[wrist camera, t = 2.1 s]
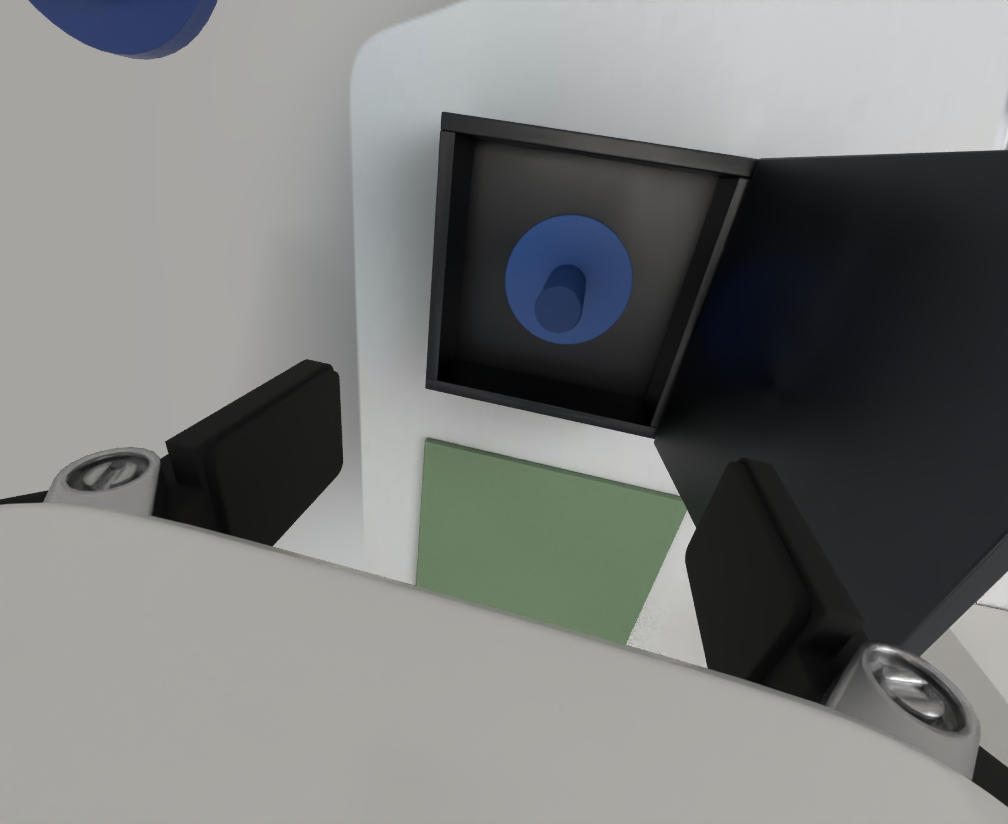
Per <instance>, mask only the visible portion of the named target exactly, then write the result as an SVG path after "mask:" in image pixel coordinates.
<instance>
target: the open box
mask: <svg viewBox="0 0 1008 824" xmlns="http://www.w3.org/2000/svg"><path fill="white" fill-rule="evenodd" d="M758 161H759V159H753V158H747V157H740V156H733V155H727V154H720V153H714V152H707V151H700V150H694V149H687V148H681V147H674V146H667V145H661V144H654V143H647V142H641V141H634V140H628V139H621V138H614V137H608V136H601V135H595V134H588V133H581V132H575V131H568V130H561V129H555V128H548V127H542V126H535V125H528V124H522V123H515V122H509V121H502V120H495V119H489V118H482V117H475V116H469V115H462V114H456V113H449V112H442V116H441V131H440V145H439V163H438V180H437V197H436V214H435V231H434V249H433V266H432V283H431V300H430V317H429V334H428V352H427V369H426V386H425V388H426V389H430V390H435V391H439V392H444V393H448V394H453V395H457V396H462V397H467V398H471V399H476V400H480V401H485V402H489V403H494V404H498V405H503V406H507V407H512V408H516V409H521V410H525V411H530V412H535V413H539V414H544V415H548V416H553V417H557V418H562V419H566V420H571V421H575V422H580V423H584V424H589V425H593V426H598V427H603V428H607V429H612V430H616V431H621V432H625V433H630V434H634V435H639V436H643V437H648V438H652V439H655V438H656V436H657V433H658V430H659V427H660V425H661V422H662V419H663V417H664V414H665V411H666V409H667V406H668V403H669V401H670V398H671V395H672V392H673V390H674V387H675V384H676V382H677V379H678V376H679V374H680V371H681V368H682V365H683V363H684V360H685V357H686V355H687V352H688V349H689V347H690V344H691V341H692V338H693V336H694V333H695V330H696V328H697V325H698V322H699V320H700V317H701V314H702V312H703V309H704V306H705V303H706V301H707V298H708V295H709V293H710V290H711V287H712V285H713V282H714V279H715V276H716V274H717V271H718V268H719V266H720V263H721V260H722V258H723V255H724V252H725V250H726V247H727V244H728V241H729V239H730V236H731V233H732V231H733V228H734V225H735V223H736V220H737V217H738V214H739V212H740V209H741V206H742V204H743V201H744V198H745V196H746V193H747V190H748V188H749V185H750V182H751V179H752V177H753V174H754V171H755V169H756V166H757V163H758ZM563 214H580V215H585V216H589V217H592V218H595V219H597V220H599V221H601V222H602V223H604V224H606V225H607V226H608V227H610V228H611V229H612V230H613V231H614V232H615V233H616V234H617V235H618V236H619V238H620V239H621V241H622V242H623V244H624V246H625V248H626V250H627V252H628V255H629V258H630V261H631V265H632V273H633V282H632V290H631V295H630V298H629V301H628V304H627V306H626V308H625V310H624V312H623V313H622V315H621V316H620V317H619V319H618V320H617V321H616V322H615V323H614V325H613V326H611V327H610V328H609V329H608V330H607V331H605V332H604V333H603V334H601V335H599V336H598V337H596V338H594V339H591V340H589V341H586V342H582V343H578V344H557V343H552V342H548V341H545V340H543V339H541V338H539V337H537V336H535V335H533V334H532V333H531V332H529V331H528V330H527V329H526V328H525V327H524V326H523V325H522V324H521V323H520V322H519V321H518V320H517V318H516V317H515V315H514V313H513V312H512V310H511V307H510V305H509V302H508V299H507V295H506V290H505V273H506V268H507V263H508V260H509V257H510V255H511V253H512V251H513V249H514V247H515V246H516V244H517V242H518V241H519V240H520V239H521V237H522V236H523V235H524V234H525V233H526V232H527V231H528V230H530V229H531V228H532V227H534V226H535V225H537V224H538V223H540V222H542V221H544V220H546V219H548V218H551V217H554V216H557V215H563Z"/></svg>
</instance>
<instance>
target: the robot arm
mask: <svg viewBox="0 0 1008 824" xmlns="http://www.w3.org/2000/svg"><path fill="white" fill-rule="evenodd" d="M340 405H341V403H340V383H339V375H338V373H337V372H335V371H334V370H333V367H332V366H331V365H330V364H326V363H322V362H317V361H313V360H308V359H306V360H304V361H302V362H300V363H298V364H297V365H295V366H293V367H291V368H290V369H288V370H286V371H285V372H283V373H281V374H280V375H278V376H276V377H274V378H273V379H271V380H269V381H268V382H266V383H264V384H263V385H261V386H259V387H257V388H256V389H254V390H252V391H251V392H249V393H247V394H246V395H244V396H242V397H241V398H239V399H237V400H235V401H234V402H232V403H230V404H228V405H227V406H225V407H223V408H222V409H220V410H218V411H217V412H215V413H213V414H211V415H210V416H208V417H206V418H205V419H203V420H201V421H200V422H198V423H196V424H194V425H193V426H191V427H189V428H188V429H186V430H184V431H183V432H181V433H179V434H177V435H176V436H174V437H172V438H171V439H169V440H167V441H165V442H166V446H167V449H168V453H169V454H168V455H166V456H164V457H163V458H161V459H160V458H159V456H158V455H157V454H156V453H155V452H153V451H150V450H147V449H144V448H135V447H127V448H115V449H110V450H105V451H100V452H97V453H94V454H90V455H87V456H85V457H82V458H80V459H78V460H76V461H74V462H72V463H70V464H69V465H68V466H66V467H65V468H63V469H62V470H61V471H60V472H59V473H58V474H57V476H56V477H55V478H54V480H53V482H52V485H51V487H50V489H49V490H48V491H43V492H38V493H32V494H27V495H21V496H16V497H11V498H6V499H0V824H1008V767H1007V766H1006V765H1004V764H1003V763H1002V762H1000V761H999V760H998V759H997V758H995V757H994V756H993V755H991V754H990V753H989V752H987V751H986V750H985V749H984V748H982V747H981V746H980V745H979V743H980V738H981V727H980V721H979V719H978V717H977V714H976V712H975V710H974V708H973V706H972V705H971V704H970V702H969V701H968V700H967V698H966V697H965V696H964V695H963V693H962V692H961V691H960V689H959V688H958V687H957V686H956V685H954V684H953V683H952V682H951V681H950V680H949V679H948V678H947V677H946V676H945V675H944V674H943V673H942V672H940V671H939V670H938V669H936V668H935V667H934V666H933V665H931V664H930V663H929V662H927V661H926V660H924V659H923V658H921V657H919V656H917V655H916V654H914V653H912V652H911V651H909V650H907V649H905V648H902V647H900V646H897V645H895V644H892V643H889V642H884V641H879V640H873V641H869V639H868V637H867V635H866V634H865V632H864V630H863V628H862V627H861V626H862V625H863V624H864V623H865V620H864V618H863V617H862V615H861V613H860V612H859V610H858V608H857V607H856V605H855V603H854V602H853V600H852V598H851V597H850V595H849V593H848V591H847V590H846V588H845V586H844V585H843V583H842V581H841V580H840V578H839V576H838V575H837V573H836V571H835V570H834V568H833V566H832V565H831V563H830V561H829V560H828V558H827V556H826V554H825V553H824V551H823V549H822V548H821V546H820V544H819V543H818V541H817V539H816V538H815V536H814V534H813V533H812V531H811V529H810V528H809V526H808V524H807V522H806V521H805V519H804V517H803V516H802V514H801V512H800V511H799V509H798V507H797V506H796V504H795V502H794V501H793V499H792V497H791V496H790V494H789V492H788V491H787V489H786V487H785V485H784V484H783V482H782V480H781V479H780V477H779V475H778V474H777V472H776V470H775V469H774V467H773V466H772V464H771V463H767V462H762V461H758V460H753V459H749V458H745V457H742V458H740V459H739V460H738V461H737V462H733V461H731V462H729V463H728V465H727V466H726V468H725V470H724V472H723V474H722V476H721V478H720V481H719V483H718V485H717V487H716V489H715V491H714V493H713V495H712V497H711V499H710V501H709V503H708V505H707V507H706V509H705V512H704V514H703V516H702V518H701V520H700V522H699V524H698V526H697V528H696V530H695V532H694V534H693V536H692V538H691V541H690V543H689V545H688V547H687V550H686V555H685V563H686V568H687V573H688V578H689V582H690V587H691V592H692V596H693V601H694V606H695V611H696V615H697V620H698V625H699V629H700V634H701V639H702V644H703V648H704V653H705V658H706V662H707V667H708V669H707V668H703V667H700V666H697V665H693V664H690V663H687V662H683V661H680V660H677V659H673V658H670V657H667V656H663V655H660V654H656V653H653V652H649V651H645V650H642V649H638V648H635V647H631V646H628V645H624V644H621V643H617V642H614V641H610V640H607V639H603V638H600V637H596V636H593V635H589V634H586V633H582V632H579V631H575V630H572V629H568V628H565V627H561V626H557V625H554V624H550V623H547V622H543V621H540V620H536V619H533V618H529V617H526V616H522V615H519V614H515V613H511V612H508V611H504V610H501V609H497V608H494V607H490V606H486V605H483V604H479V603H476V602H472V601H468V600H465V599H461V598H458V597H454V596H451V595H447V594H443V593H440V592H436V591H433V590H429V589H425V588H422V587H418V586H414V585H411V584H407V583H404V582H400V581H396V580H393V579H389V578H386V577H382V576H378V575H375V574H371V573H368V572H364V571H360V570H356V569H353V568H349V567H345V566H341V565H338V564H334V563H331V562H327V561H323V560H320V559H316V558H312V557H309V556H305V555H301V554H298V553H294V552H290V551H287V550H283V549H279V548H276V547H272V546H273V545H274V544H275V543H276V542H277V541H278V540H279V539H280V538H281V537H282V536H283V534H284V533H285V532H286V531H287V530H288V529H289V528H290V527H291V526H292V525H293V524H294V522H295V521H296V520H297V519H298V518H299V517H300V516H301V515H302V514H303V513H304V511H305V510H306V509H307V508H308V507H309V506H310V505H311V504H312V503H313V502H314V501H315V500H316V498H317V497H318V496H319V495H320V494H321V493H322V492H323V491H324V490H325V489H326V488H327V486H328V485H329V484H330V483H331V482H332V481H333V480H334V479H335V478H336V477H337V475H338V474H339V472H340V471H341V468H342V464H343V447H342V425H341V406H340Z"/></svg>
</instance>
